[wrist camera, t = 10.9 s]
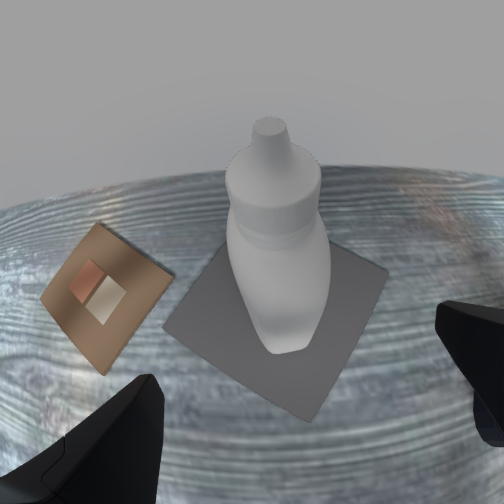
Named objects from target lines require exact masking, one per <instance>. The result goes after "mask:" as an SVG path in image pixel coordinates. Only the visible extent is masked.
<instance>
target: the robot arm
mask: <svg viewBox="0 0 504 504" xmlns="http://www.w3.org/2000/svg"><path fill="white" fill-rule="evenodd" d="M435 330H436V333H437V334H438V336H439V338H440V339H441V341H442V342H443V344H444V346H445V347H446V349H447V350H448V352H449V354H450V355H451V357H452V359H453V360H454V362H455V364H456V365H457V367H458V368H459V369H460V371H461V372H462V373H463V375H464V376H465V378H466V379H467V380H468V382H469V383H470V384H471V386H472V387H473V389H474V390H475V391H476V393H477V394H478V396H479V397H480V399H481V400H482V401H483V403H484V404H485V406H486V407H487V409H488V410H489V412H490V413H491V415H492V416H493V418H494V419H495V421H496V423H497V424H498V426H499V427H500V429H501V430H502V432H503V434H504V309H499V308H493V307H486V306H480V305H474V304H468V303H462V302H456V301H450V300H447V301H445V302H442V303H440V304H438V306H437V309H436V320H435ZM164 403H165V399H164V394H163V392H162V390H161V388H160V386H159V384H158V382H157V380H156V378H155V376H154V375H153V374H142V375H139V376H138V377H136V378H135V379H134V380H133V381H132V382H130V383H129V384H128V385H127V386H125V387H124V388H123V389H122V390H121V391H119V392H118V393H117V394H116V395H114V396H113V397H112V398H111V399H109V400H108V401H107V402H106V403H105V404H103V405H102V406H101V407H100V408H98V409H97V410H96V411H95V412H93V413H92V414H91V415H90V416H88V417H87V418H86V419H85V420H83V421H82V422H81V423H80V424H78V425H77V426H76V427H74V428H73V429H72V430H71V431H69V432H68V433H67V434H66V435H65V437H64V436H63V437H62V438H60V439H59V440H58V441H57V442H55V443H54V444H53V445H51V446H50V447H48V448H47V449H46V450H44V451H43V452H41V453H40V454H38V455H37V456H35V457H34V458H32V459H31V460H29V461H28V462H26V463H24V464H23V465H21V466H19V467H18V468H16V469H15V470H13V471H11V472H10V473H8V474H6V475H4V476H2V477H0V504H156V495H157V486H158V478H159V470H160V462H161V455H162V447H163V436H164Z"/></svg>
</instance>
